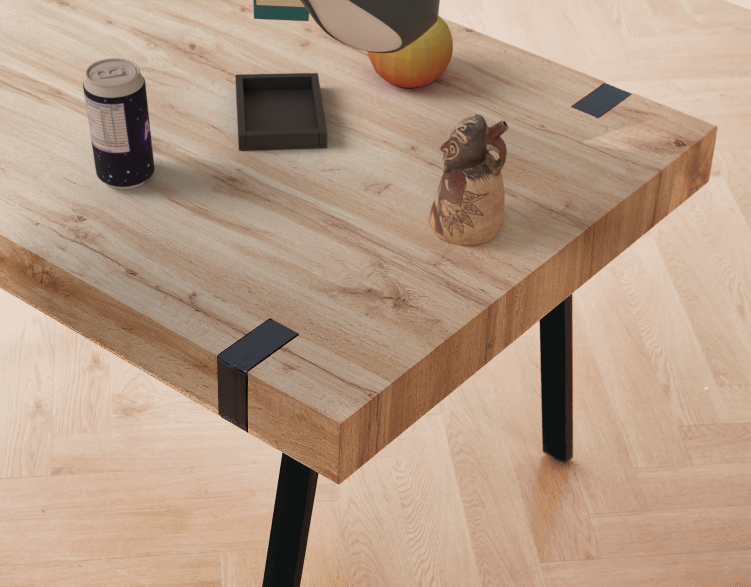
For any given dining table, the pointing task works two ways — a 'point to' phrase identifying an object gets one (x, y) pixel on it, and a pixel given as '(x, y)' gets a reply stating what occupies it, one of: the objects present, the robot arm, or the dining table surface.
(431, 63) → the apple
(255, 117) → the tray
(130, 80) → the beverage can
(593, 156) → the dining table surface
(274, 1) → the tissue box
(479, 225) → the figurine
